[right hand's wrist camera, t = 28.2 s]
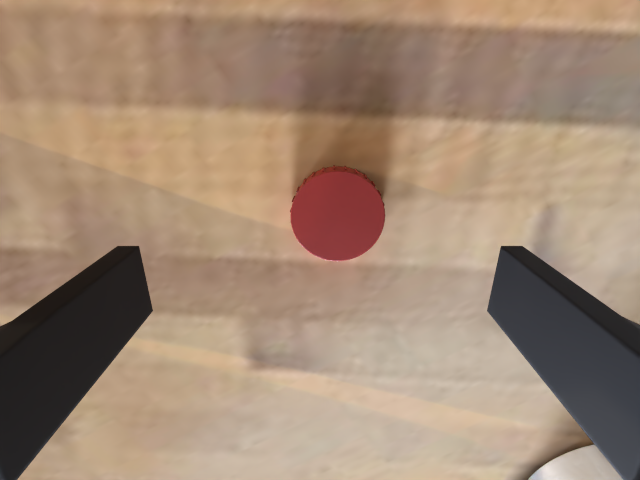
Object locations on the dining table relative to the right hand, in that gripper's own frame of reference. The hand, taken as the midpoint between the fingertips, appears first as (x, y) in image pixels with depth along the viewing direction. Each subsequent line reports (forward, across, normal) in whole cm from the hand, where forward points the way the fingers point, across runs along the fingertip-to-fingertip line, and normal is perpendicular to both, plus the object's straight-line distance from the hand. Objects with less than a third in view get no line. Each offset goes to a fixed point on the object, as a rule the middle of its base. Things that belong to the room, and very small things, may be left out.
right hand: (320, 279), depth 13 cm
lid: (+9, +1, 0) cm, 9 cm away
